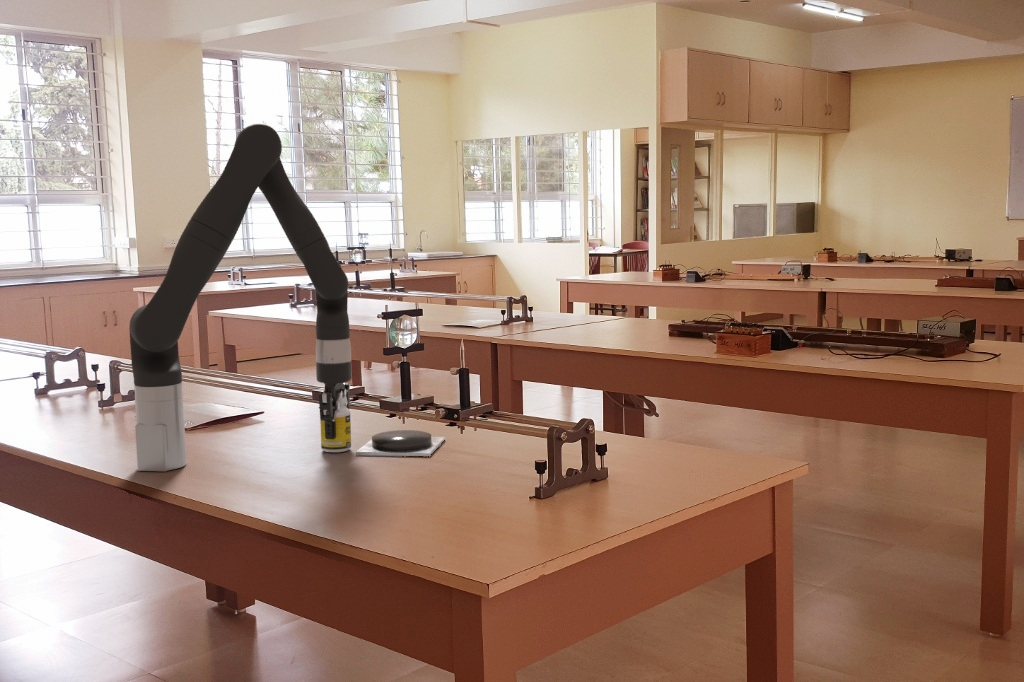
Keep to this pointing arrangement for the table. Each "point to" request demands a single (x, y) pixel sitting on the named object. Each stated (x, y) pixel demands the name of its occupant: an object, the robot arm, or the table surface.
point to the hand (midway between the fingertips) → (335, 435)
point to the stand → (401, 444)
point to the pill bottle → (338, 431)
